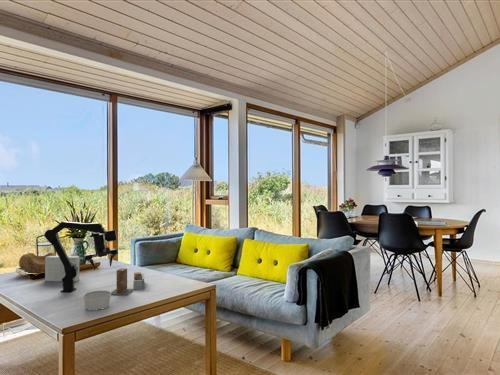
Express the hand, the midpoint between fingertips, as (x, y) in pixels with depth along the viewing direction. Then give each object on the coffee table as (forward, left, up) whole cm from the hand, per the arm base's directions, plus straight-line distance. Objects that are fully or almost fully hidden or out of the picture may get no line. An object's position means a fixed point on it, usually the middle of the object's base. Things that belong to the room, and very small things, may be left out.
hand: (102, 268), depth 221 cm
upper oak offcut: (+7, -19, -8) cm, 22 cm away
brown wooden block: (-7, -15, -12) cm, 21 cm away
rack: (+7, -20, -12) cm, 25 cm away
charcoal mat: (-7, -15, -12) cm, 21 cm away
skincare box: (+14, +34, -13) cm, 39 cm away
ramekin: (-32, -13, -13) cm, 37 cm away
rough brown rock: (+27, +60, -13) cm, 66 cm away
